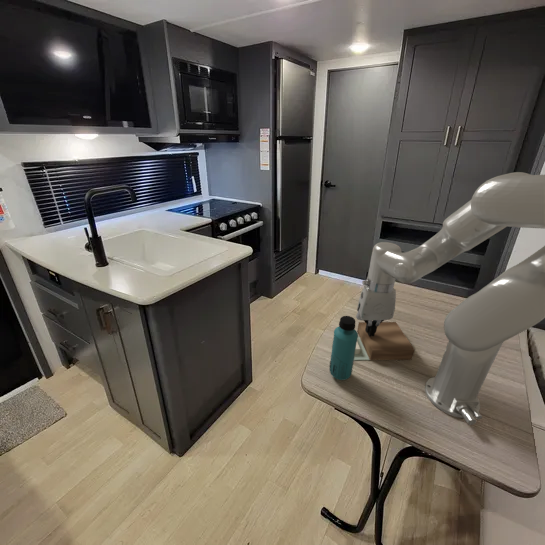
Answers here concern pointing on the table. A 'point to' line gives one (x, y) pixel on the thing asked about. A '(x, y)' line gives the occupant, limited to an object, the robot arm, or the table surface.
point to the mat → (361, 352)
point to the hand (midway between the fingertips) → (370, 333)
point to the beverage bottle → (343, 348)
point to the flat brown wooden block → (386, 342)
